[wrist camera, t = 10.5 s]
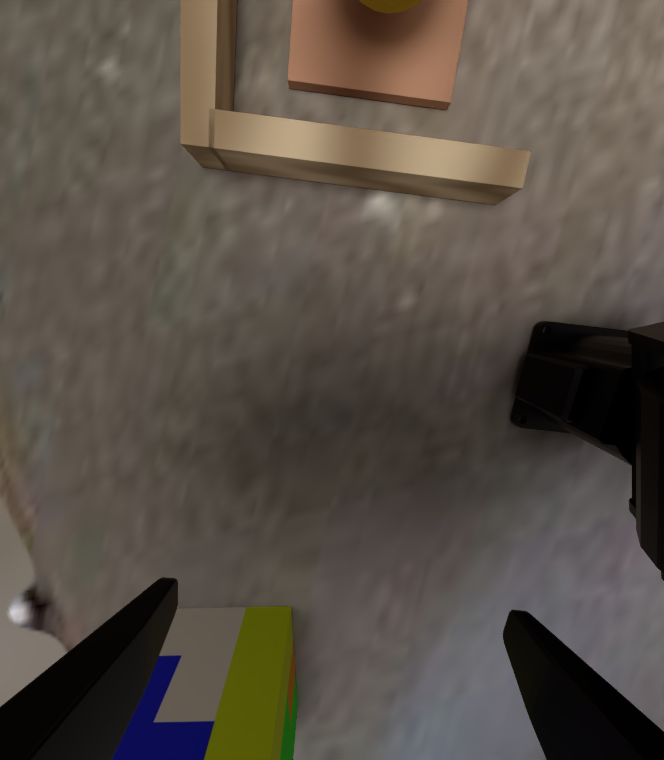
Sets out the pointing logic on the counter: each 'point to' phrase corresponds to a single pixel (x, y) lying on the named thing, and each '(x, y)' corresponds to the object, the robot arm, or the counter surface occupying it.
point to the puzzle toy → (219, 689)
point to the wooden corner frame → (347, 78)
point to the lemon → (390, 5)
